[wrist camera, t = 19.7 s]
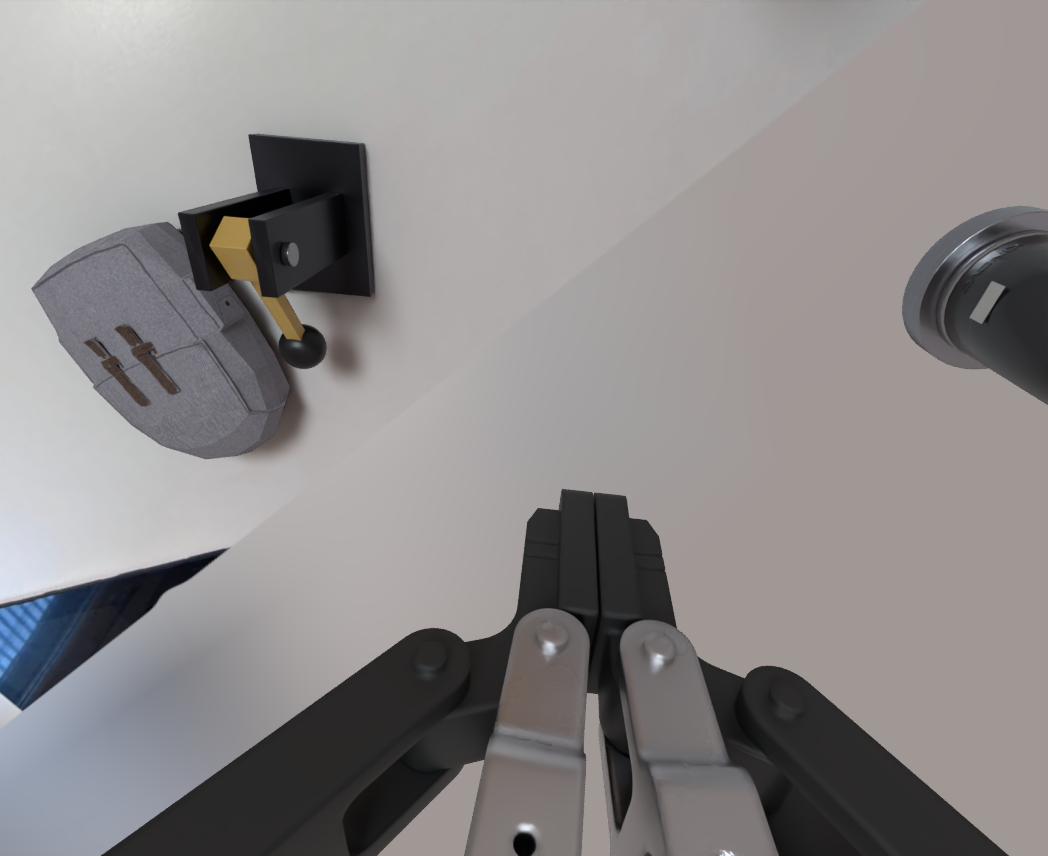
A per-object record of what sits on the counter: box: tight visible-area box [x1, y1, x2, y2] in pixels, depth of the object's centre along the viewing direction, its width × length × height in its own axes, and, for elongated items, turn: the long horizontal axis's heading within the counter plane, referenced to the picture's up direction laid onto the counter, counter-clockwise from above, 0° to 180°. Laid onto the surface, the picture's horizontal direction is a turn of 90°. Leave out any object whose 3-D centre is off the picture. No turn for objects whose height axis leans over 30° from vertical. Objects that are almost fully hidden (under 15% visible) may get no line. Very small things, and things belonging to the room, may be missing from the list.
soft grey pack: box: [31, 222, 290, 459], centre depth 45 cm, size 15×8×20 cm
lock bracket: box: [178, 134, 375, 298], centre depth 37 cm, size 11×8×13 cm
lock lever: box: [210, 216, 327, 369], centre depth 37 cm, size 13×3×3 cm
